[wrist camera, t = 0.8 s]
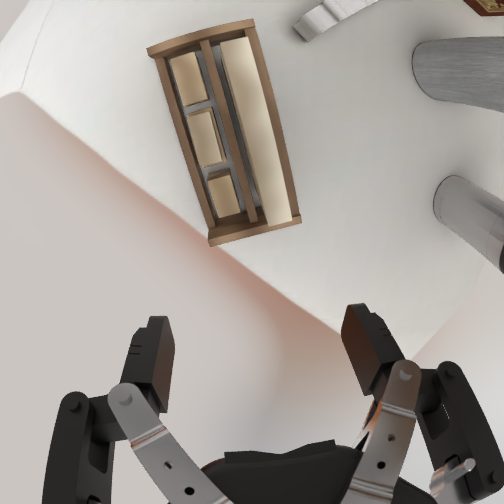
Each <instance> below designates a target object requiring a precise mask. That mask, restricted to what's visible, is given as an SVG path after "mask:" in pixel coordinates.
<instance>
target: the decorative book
mask: <svg viewBox="0 0 504 504" xmlns="http://www.w3.org/2000/svg"><path fill="white" fill-rule="evenodd" d="M464 1H465V2H466V3H467V4H468V5H469V6H470V7H471V8H473V9H474V10H475V11H476V12H477V13H478V14H479V15H480V16H504V0H464Z"/></svg>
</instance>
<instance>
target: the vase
mask: <svg viewBox="0 0 504 504" xmlns="http://www.w3.org/2000/svg"><path fill="white" fill-rule="evenodd" d="M412 66H413V71H414V75H415V78H416V80H417V82H418V84H419V85H420V87H421V88H422V90H423V91H424V92H425V93H426V94H427V95H429V96H430V97H432V98H434V99H437V100H442V101H449V102H455V103H461V104H467V105H472V106H477V107H482V108H486V109H491V110H495V111H499V112H503V113H504V37H467V38H454V39H444V40H435V41H428V42H424V43H421V44H420V45H418V46H417V48H416V49H415V51H414V54H413V58H412Z"/></svg>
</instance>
